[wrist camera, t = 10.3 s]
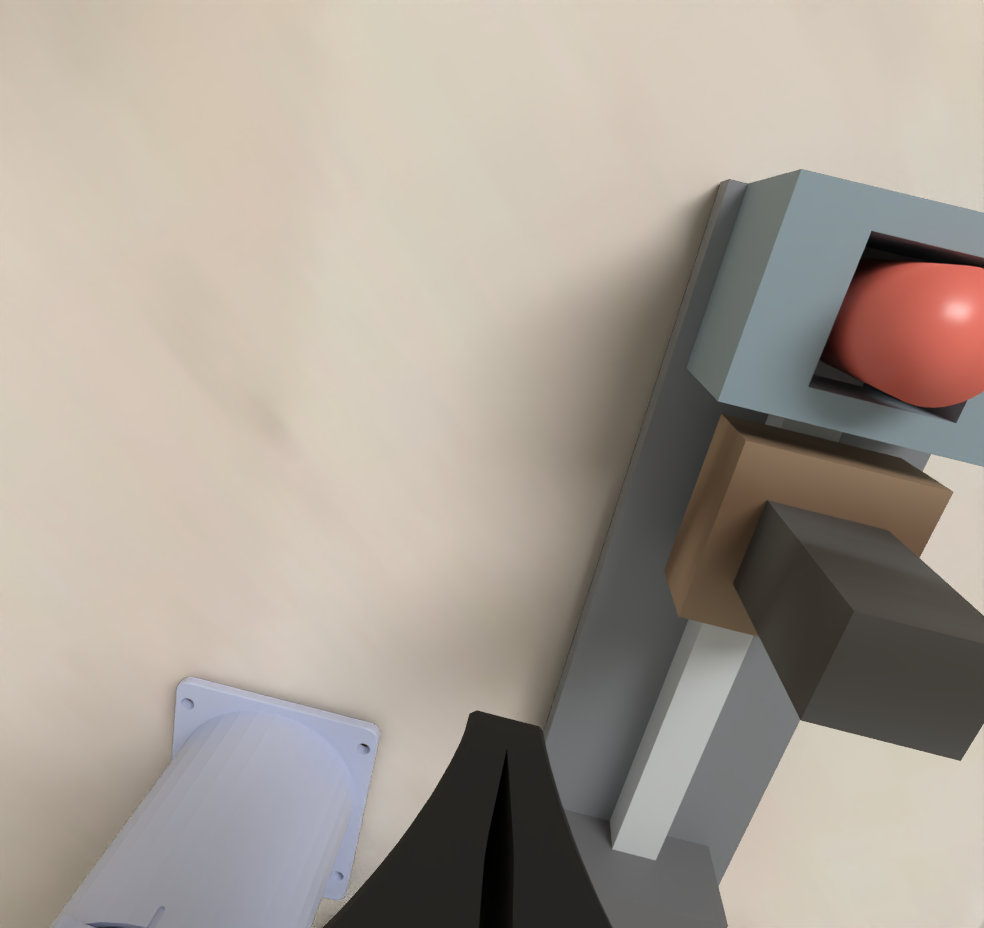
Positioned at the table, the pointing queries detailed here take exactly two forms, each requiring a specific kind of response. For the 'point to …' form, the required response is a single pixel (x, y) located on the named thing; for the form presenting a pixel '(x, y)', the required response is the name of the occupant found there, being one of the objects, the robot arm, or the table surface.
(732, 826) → the rail bed
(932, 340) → the plunger
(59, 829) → the table surface
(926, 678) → the carriage
